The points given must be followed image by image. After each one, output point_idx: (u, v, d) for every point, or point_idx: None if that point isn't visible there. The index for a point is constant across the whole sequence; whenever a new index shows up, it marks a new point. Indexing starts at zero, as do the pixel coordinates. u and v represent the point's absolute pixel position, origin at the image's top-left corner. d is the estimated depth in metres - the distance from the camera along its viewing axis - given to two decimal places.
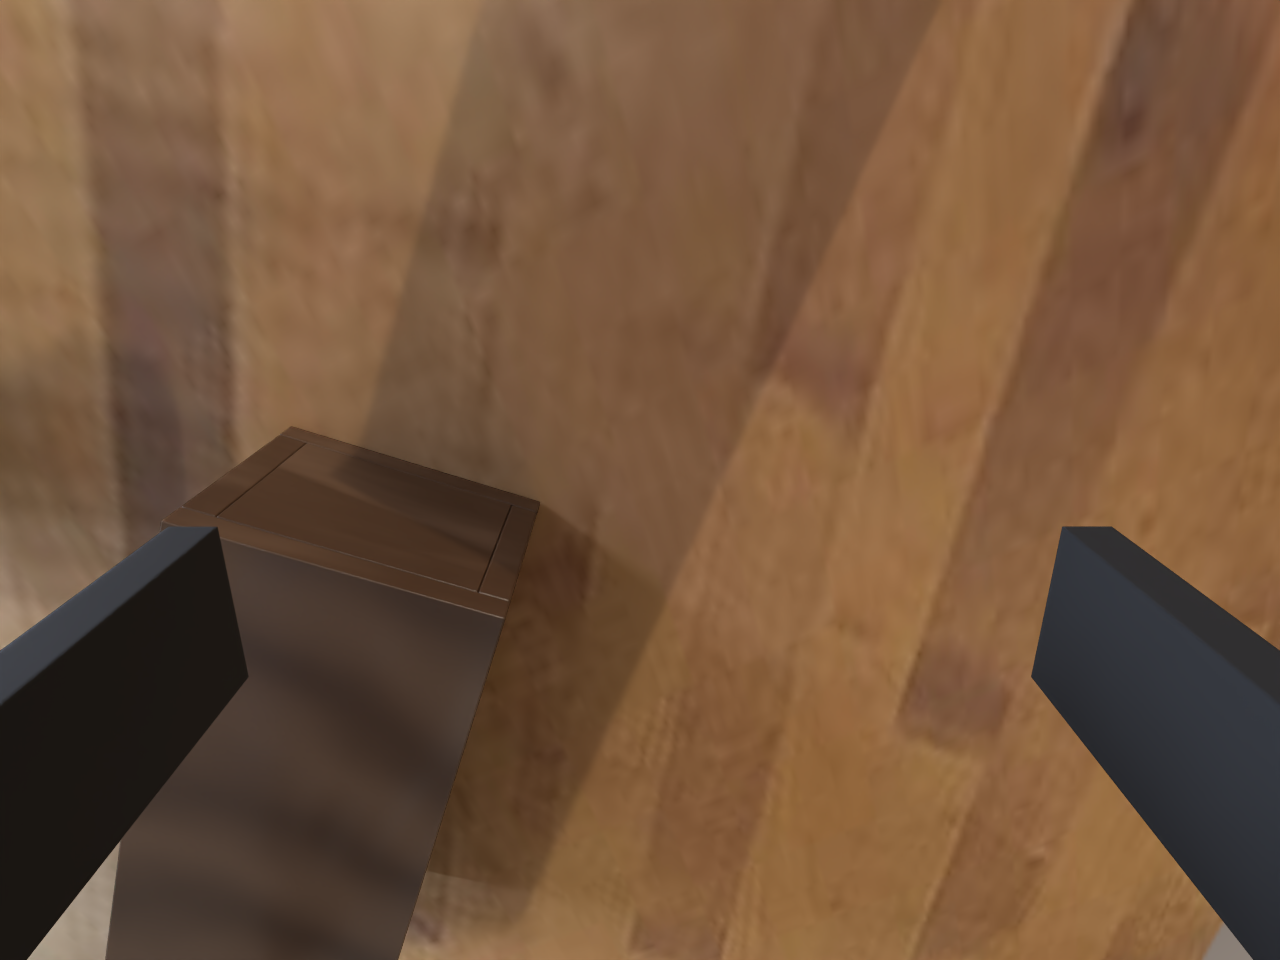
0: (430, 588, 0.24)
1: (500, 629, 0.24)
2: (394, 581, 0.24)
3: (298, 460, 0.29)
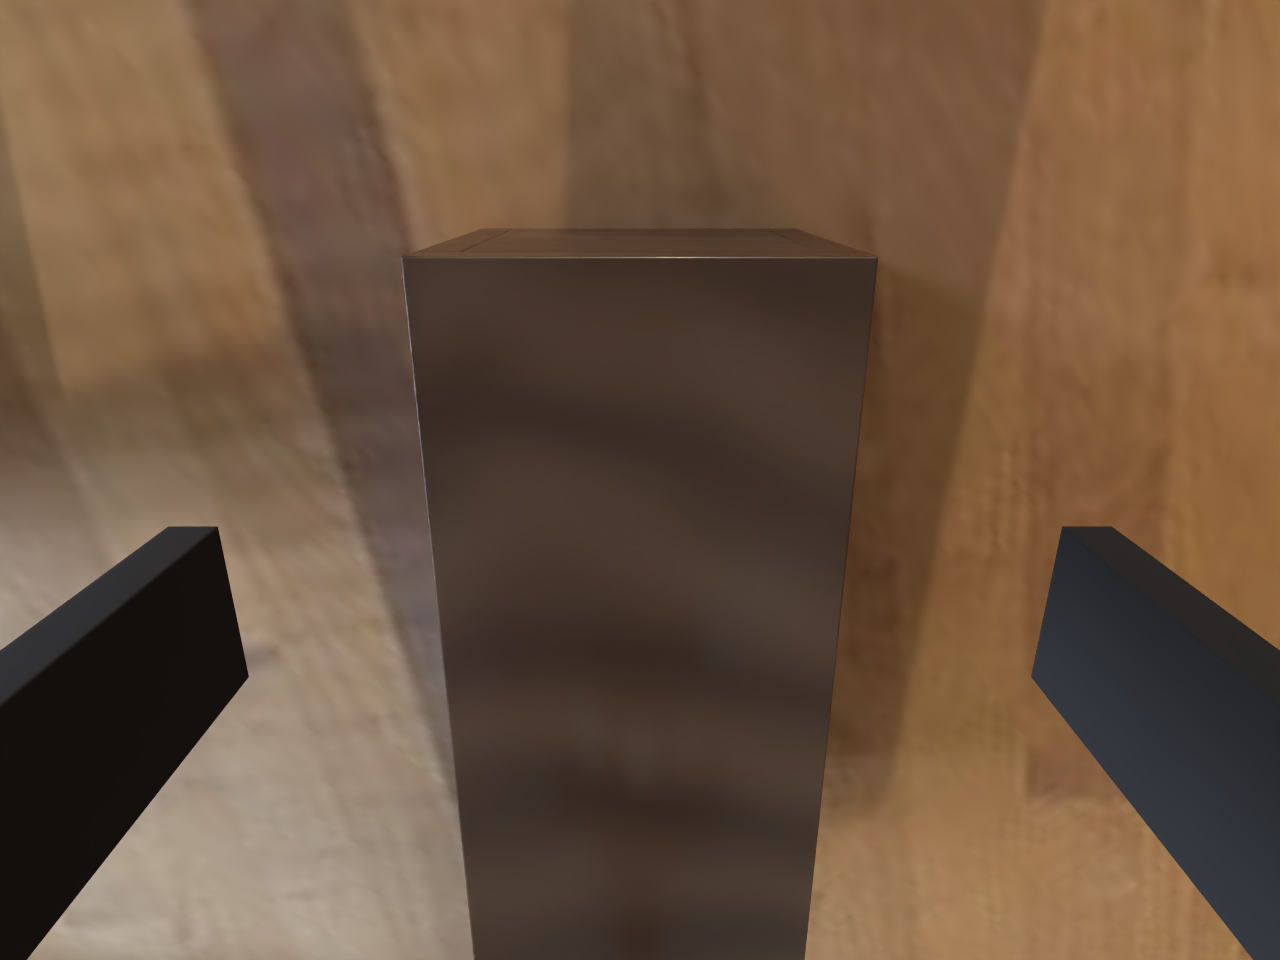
0: (762, 254, 0.18)
1: (875, 275, 0.17)
2: (714, 255, 0.17)
3: (510, 234, 0.23)
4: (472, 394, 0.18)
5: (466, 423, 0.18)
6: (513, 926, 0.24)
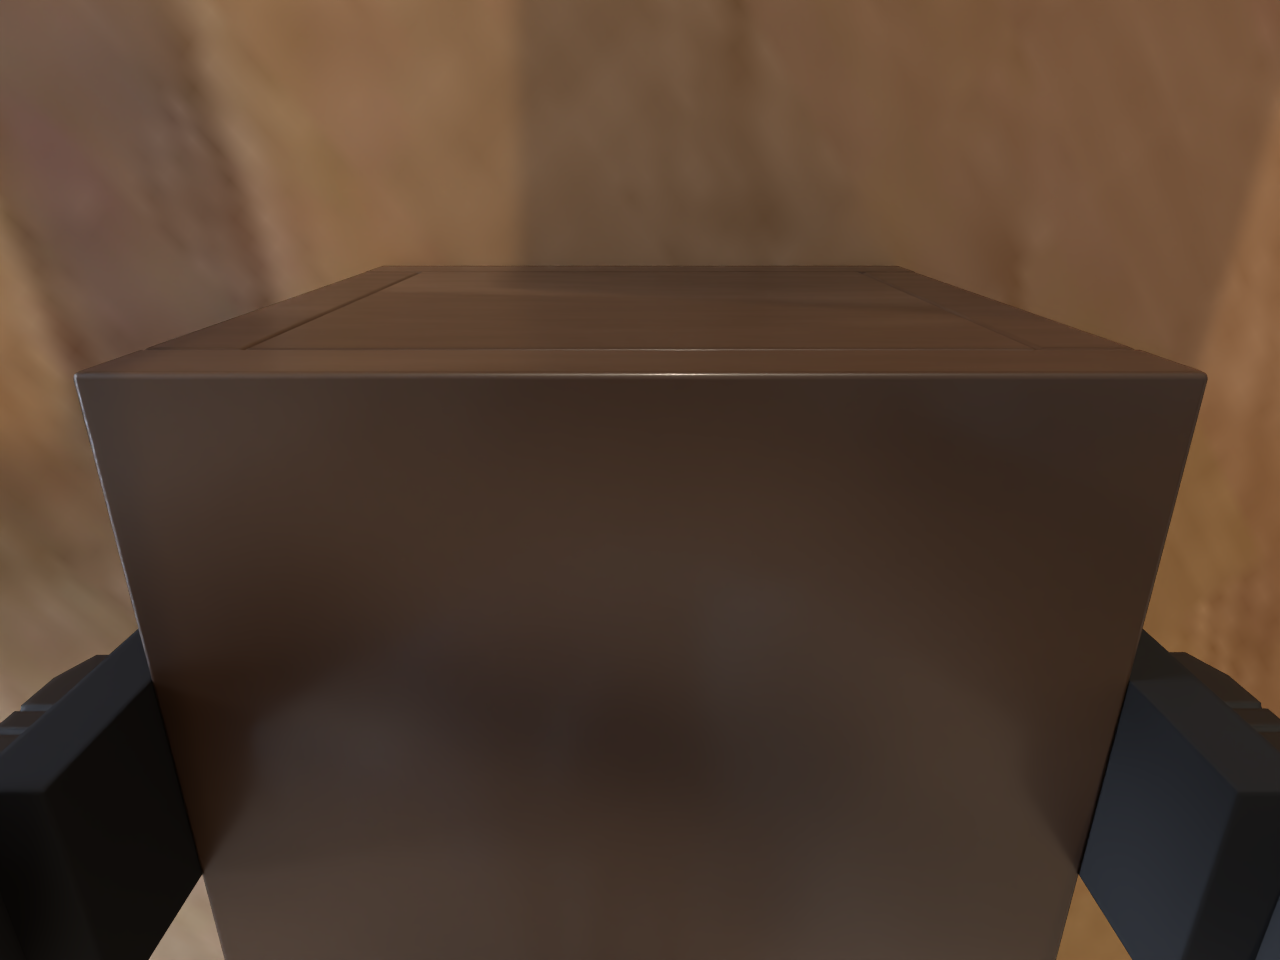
0: (923, 361, 0.08)
1: (1196, 416, 0.07)
2: (815, 365, 0.07)
3: (415, 283, 0.13)
4: (272, 662, 0.08)
5: (265, 717, 0.09)
6: None
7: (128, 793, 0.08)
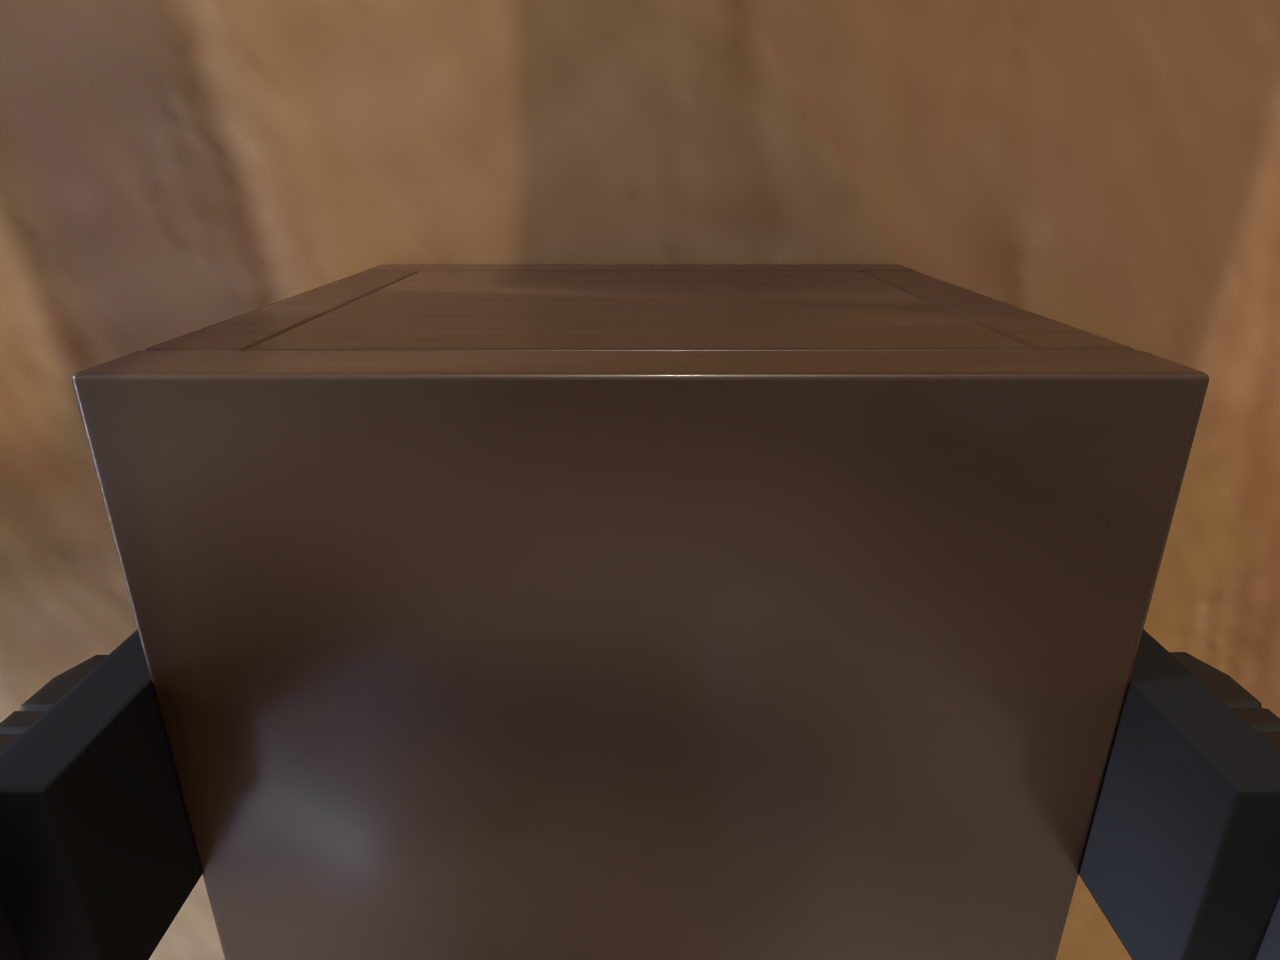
0: (924, 361, 0.08)
1: (1198, 417, 0.07)
2: (815, 366, 0.07)
3: (415, 282, 0.13)
4: (272, 663, 0.08)
5: (265, 717, 0.09)
6: None
7: (128, 793, 0.08)
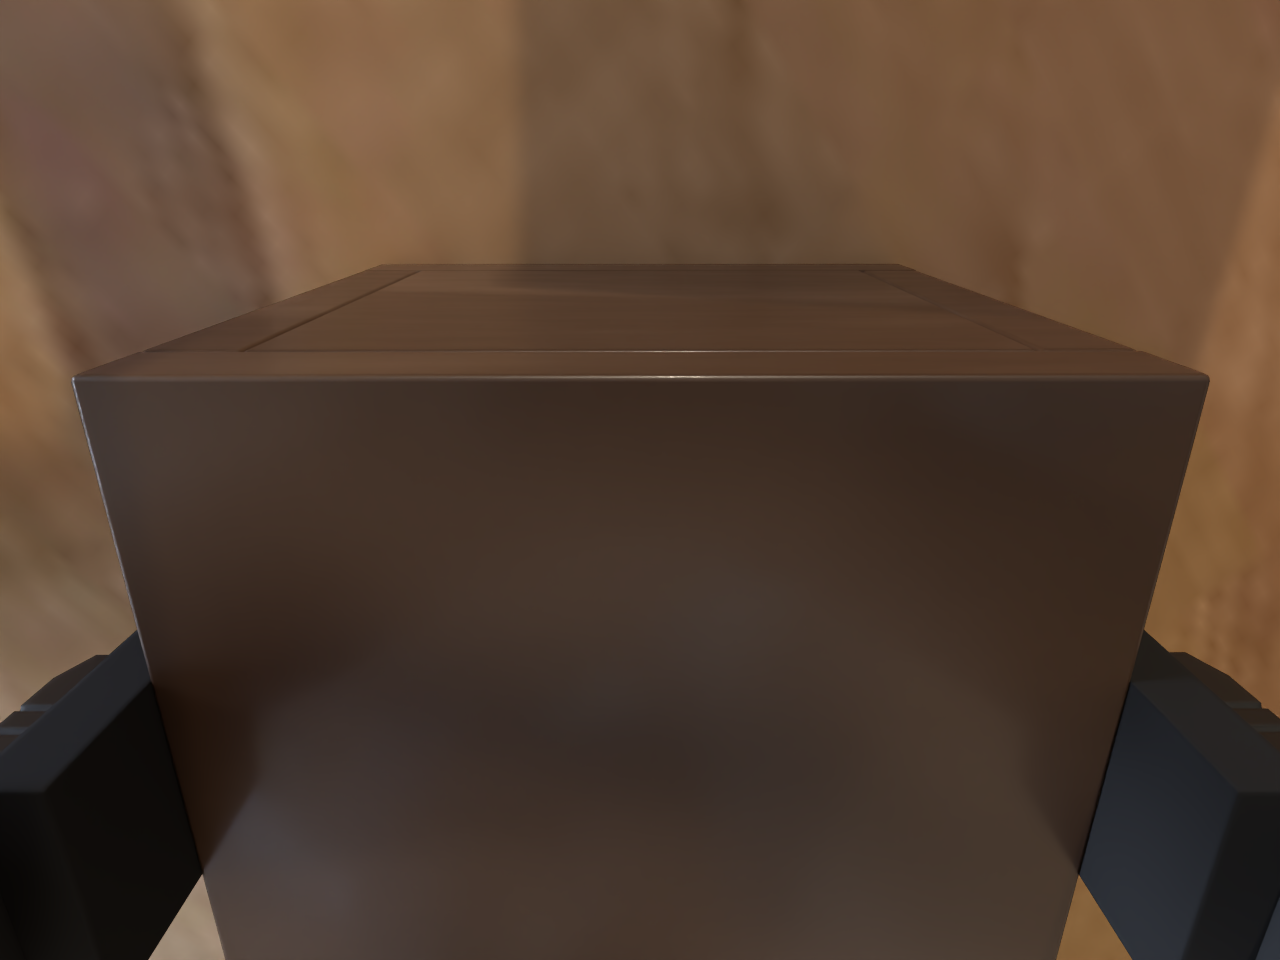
0: (924, 362, 0.08)
1: (1198, 418, 0.07)
2: (815, 367, 0.07)
3: (414, 282, 0.13)
4: (272, 664, 0.08)
5: (265, 719, 0.09)
6: None
7: (128, 793, 0.08)
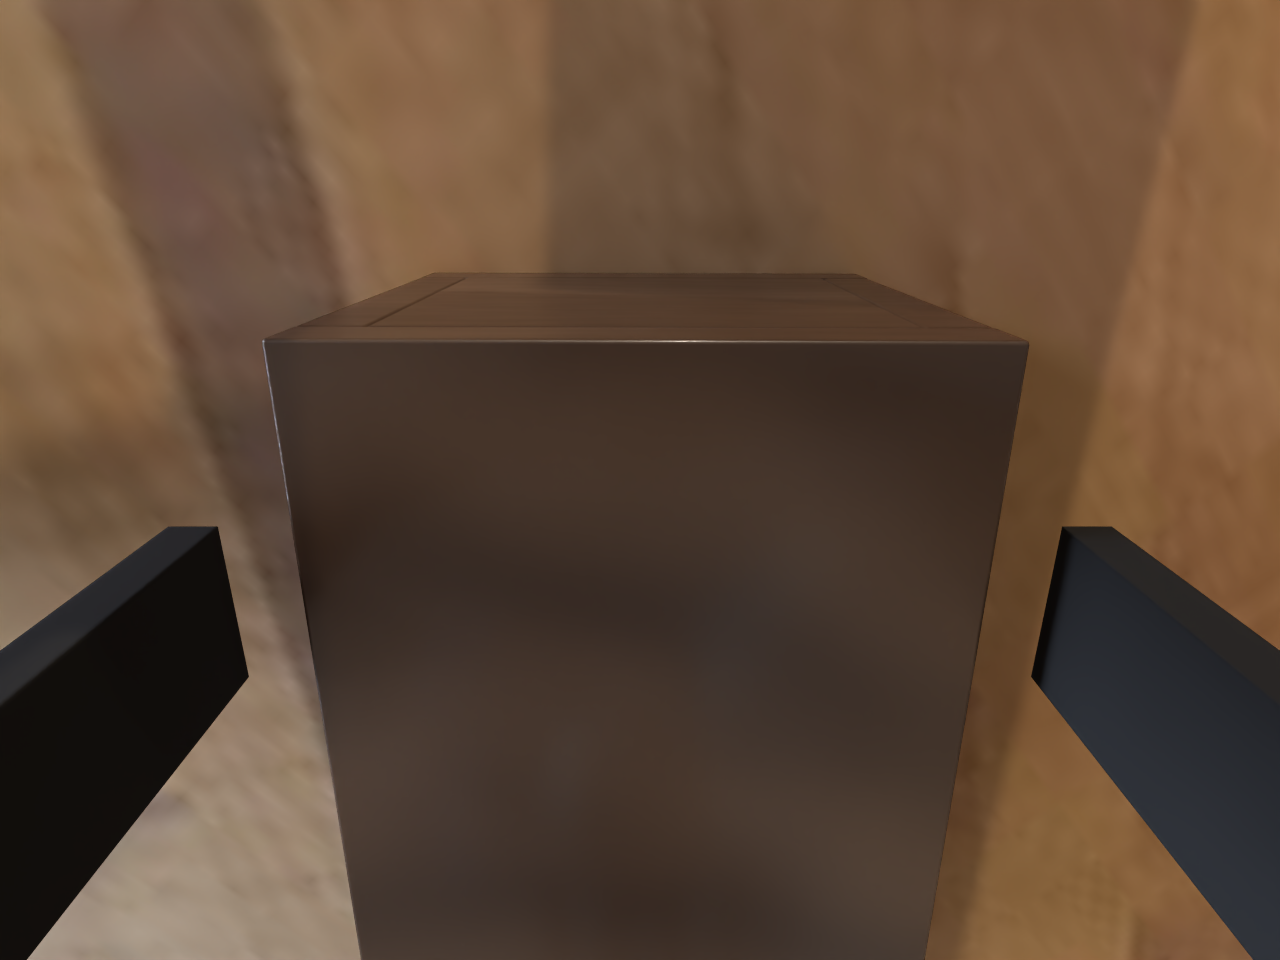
0: (839, 334, 0.11)
1: (1023, 371, 0.11)
2: (764, 336, 0.11)
3: (466, 285, 0.17)
4: (383, 547, 0.12)
5: (376, 589, 0.12)
6: None
7: None
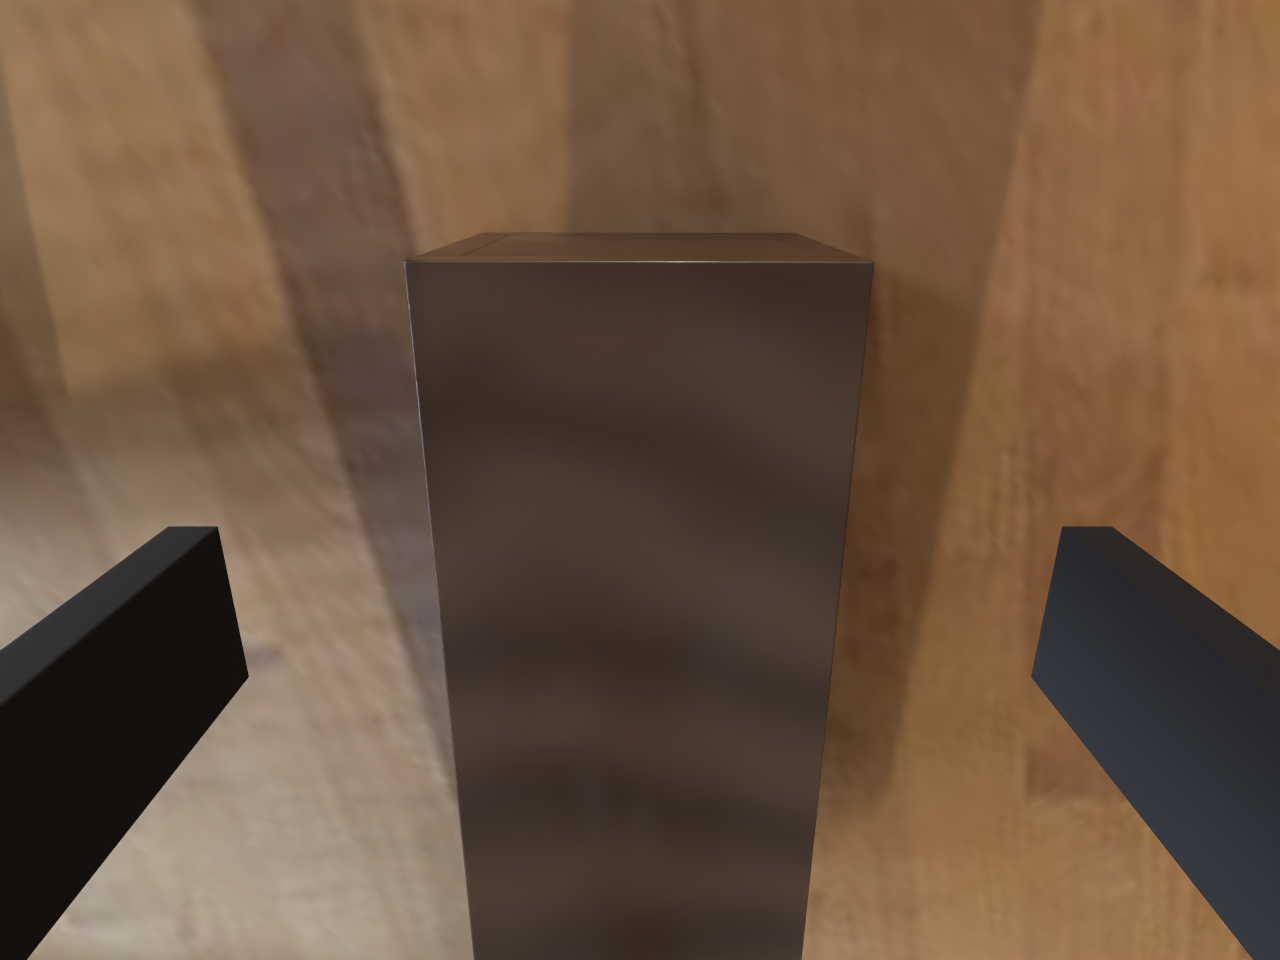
0: (759, 258, 0.18)
1: (871, 280, 0.17)
2: (712, 259, 0.18)
3: (512, 239, 0.23)
4: (474, 396, 0.18)
5: (467, 425, 0.19)
6: (512, 924, 0.24)
7: None
